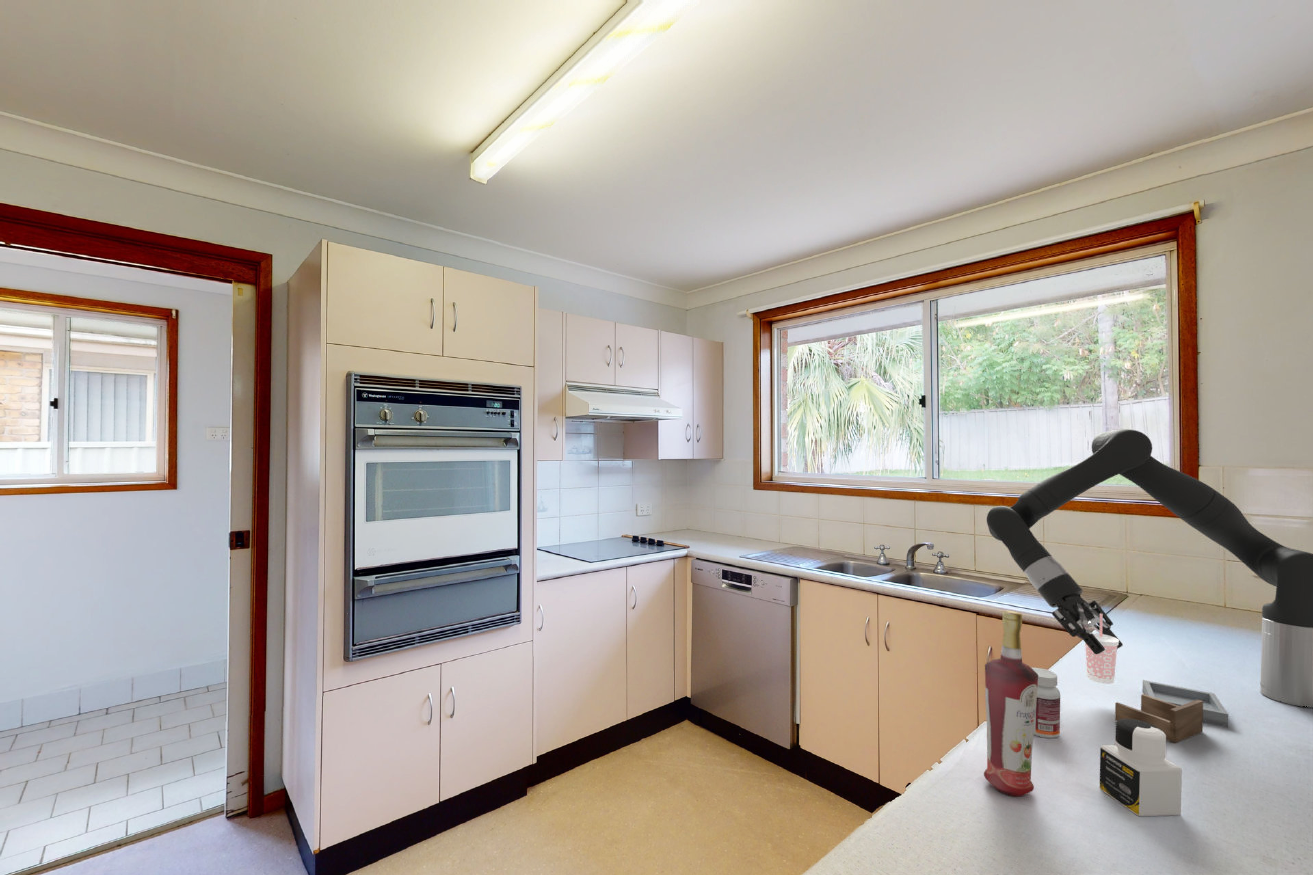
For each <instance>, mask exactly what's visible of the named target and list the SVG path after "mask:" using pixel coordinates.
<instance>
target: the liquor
mask: <svg viewBox="0 0 1313 875" xmlns="http://www.w3.org/2000/svg"><path fill="white" fill-rule="evenodd" d="M1022 626H1023V614H1022V613H1021V612H1018V611H1016V610H1003V611H1002V627H1003V636H1002V643H1001V644H1002V645H1001V651H1000V658H995V659H992V660H989V661H988V662H986V663H985V664H984V686H985V687H984V688H985V692H984V693H985V712H986V744H987V745H986V749H987V750H986V751H987V752H986V755H987V756H986V757H987V759H986V766H987V767H986V769H985V770H984V772H983V776H984V777H985V778H984V779H986V780H987V782H988V783H989V784H990V785H991V786H992V787H993V788H994V789H995V790H996V791H998V793H999V792H1000V793H1001V794H1003V795H1007V796H1009V797H1015V798H1020V797H1023V796H1025V795H1028V794H1030V793H1032V792H1033V791H1034V789H1035V786H1034V783H1033V782H1032V761H1033V760H1032V759H1033V748H1034V746H1033V744H1034V734H1033V733H1034V723H1035V713H1036V700H1037V685H1038V674H1037V673H1036V672H1035V671H1034V670H1033V669H1032V668H1033V667H1031V666H1029V665H1027V664H1026V663H1024V662H1023V656H1022V643H1021V642H1022V641H1021V630H1022Z"/></svg>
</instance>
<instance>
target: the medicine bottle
mask: <svg viewBox="0 0 1313 875" xmlns="http://www.w3.org/2000/svg"><path fill="white" fill-rule="evenodd" d="M1114 735H1115V736H1114V737H1115V740H1114V741H1115V742H1114V745H1113V744H1112V745H1111V744H1109V745H1105V744H1104V745H1100V748H1099V751H1100V752H1099V753H1100V755H1099V790H1100V791H1102V792H1103V793H1104V794H1105V795H1108V796H1109V797H1110V798H1111V799H1113V800H1115V801H1116V802H1117V803H1118V804H1120V805H1121V806H1123V807H1124V808H1126V809H1127V810H1128V811H1130V812H1131V813H1133V814H1134V815H1136V816H1137V817H1157V816H1158V817H1160V816H1161V817H1162V816H1163V817H1164V816H1180V815H1181V814H1182V786H1183V785H1182V784H1183V783H1182V778H1183V777H1182V775H1183V770H1182V768H1181V767H1180V766H1179V765H1176V764H1175V763H1173V762H1171V761H1170V760H1168V759H1166V756H1167V755H1166V754H1167V753H1166V752H1167V745H1166V744H1167V740H1166V735H1165V733H1164V732H1163V731H1162V730H1161V729H1159V728H1158V727H1156V726H1154V725H1152V724H1150V723H1147V722H1144V721H1141V720H1136V719H1121V720H1118V721H1115V734H1114Z"/></svg>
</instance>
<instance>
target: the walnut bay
mask: <svg viewBox="0 0 1313 875" xmlns="http://www.w3.org/2000/svg"><path fill="white" fill-rule="evenodd" d="M1140 702H1141V703H1140V709H1137V708H1135V707H1132V706H1129V705H1126V704H1124V703H1121V702H1118V701H1117V702H1115V703H1114V704H1115V708H1114V710H1115V712H1114V720H1115V722H1117V721H1118V720H1121V719H1136V720H1141V721H1144V722H1147V723H1150V724H1152V725H1154V726H1156V727H1158V728H1159V729H1161V730H1162V731H1163V732H1164V733H1165V735H1166V741H1168V742H1171V743H1173V744H1176V743H1180V742H1181V741H1184V740H1187V739H1189V738H1192V737H1194V736H1197V735H1198V734H1201V733H1203V725H1204V724H1203V723H1204V722H1203V701H1201V700H1195V701H1192V702H1190V703H1187V704H1184V705H1181V706H1177V705H1174V704H1171V703H1168V702H1165V701H1163V700H1160V699H1157V698H1154V697H1151V696H1148V695H1145V694H1143V693H1142V694H1141V695H1140Z"/></svg>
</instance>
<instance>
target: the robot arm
mask: <svg viewBox="0 0 1313 875" xmlns="http://www.w3.org/2000/svg"><path fill="white" fill-rule="evenodd" d="M1091 452H1092V455H1090V456H1089V457H1086V458H1085V459H1083V460H1082V461H1080V462H1078V463H1077V464H1075V465H1073V466H1071V467H1069V468H1066V469H1064V470H1063V471H1060V472H1058V473H1056V474H1053V475H1051V476H1049V477H1047V478H1045V479H1044V480H1042V481H1040V482H1038V483H1037V484H1036V485H1034V486H1032V487H1031V488H1029V489H1028V490H1026V491H1025V492H1023V493H1022V494H1021V495H1020V496H1019V497H1018V499H1017V501H1016V502H1015V503H1014V504H1013V505H1011V506H1010V507H1009V506H1006V505H1005V506H1004V505H998V506H994V507H992V508H991V509H990V510H989V511H988V513H987V514H986V524H987V527H988V531H989V533H990V534H991V536H992V537H993V538H994V539H996V540H997V541H1001V542H1002V544H1004V546H1005V547H1006V548H1007V550H1008V551H1009V554H1010V556H1011V557H1012V559H1013V560H1014V562H1015V563H1016V565H1017V566H1018V567H1019V568H1020V570H1022V572H1023V573H1024V574H1025V575H1026V577H1027V579H1028V581H1029V582H1030V584H1031V585H1032V586H1033V587H1034V588H1035V590H1036V591H1037V593H1039V594H1040V596H1041V597H1042V598H1043V600H1044V601H1045V602H1046V603H1047V604H1048V605H1049V607H1051V608H1057V609H1055V610H1054V611H1052V612H1051V615H1052V616H1053V617H1054V618H1055V619H1056V621H1057V622H1058V623H1059V624H1060V625H1061V626H1062V627H1063V628H1064V629H1065V630H1066V632H1067V633H1068V634H1069V635H1070V636H1071V637H1073V638H1075V637H1077V638H1078V639H1082V641H1083V642H1084V644H1085V643H1086V644H1087V645H1088V646H1089V648H1090V649H1091V650H1092V651H1093V652H1094V654H1100V653H1101V652H1103V651H1104V650H1105V648H1104V647H1103V646H1102V644H1101V643H1100V642H1099V641H1098V640H1097V638H1096V637H1095V636H1094V635H1093V634H1092V633H1093V632H1091V630H1090V628H1093V629H1094V630H1095V631H1096V633H1099V634H1100V614H1103V620H1102V634H1105V635H1109V636H1112V637H1115V638H1117V639H1118V640H1119V645H1117V650H1118V649H1120V648H1122V647H1123V646H1124V645H1123V642H1122V641H1121V640H1120V639H1119V638H1118V637H1117V635H1116V634H1115V633H1114V632H1113V631H1112V630H1111V629H1112V627H1111V626H1113V625H1114V623H1113V621H1112V620H1111V619H1110V617H1109V616H1108V615H1107V613H1106V612H1105V610H1104V609H1103V608H1102V607H1101V606H1100V605H1099V603H1098V602H1097V601H1096V600H1092V601H1090V602H1087V601H1086V600H1085V599H1084V598H1082V596H1081V594H1082V593H1083V588H1082V587H1081V586H1080V585H1079V584H1078V583H1077V581H1075V579H1074V578H1073V577H1072V576H1071V575H1070V574H1069V572H1068V571H1067V570H1066V569H1065V567H1064V566H1063V565H1061V563H1060V562H1058V561H1057V560H1056V558H1054V557H1053V555H1052V554H1051V553H1050V552H1049V550H1047V549H1046V547H1044V546H1043V545H1042V543H1041V542H1040V541H1038V539H1037V538H1036V537H1035V535H1034V534H1033V532H1032V530H1031V528H1032V527H1033V526H1035V524H1037V523H1038V522H1039V521H1040V520H1041V519H1043V518H1045V517H1047V516H1048V515H1050V514H1051V513H1054V511H1056V510H1058V509H1059V508H1061V507H1062V506H1064V505H1065V504H1068V503H1069V502H1070V501H1072V500H1073V499H1076V497H1078V496H1080V495H1082V494H1083V493H1085V492H1086V491H1088V490H1090V489H1092V488H1093V487H1095V486H1097V485H1099V484H1101V483H1103V482H1104V481H1107V480H1109V479H1111V478H1113V477H1115V476H1118V475H1120V476H1121V477H1123V478H1125V479H1127V480H1128V481H1130V482H1131V483H1134V484H1135V485H1136V486H1138V488H1140V489H1142V490H1143V491H1144V492H1145V493H1146V494H1148V495H1149V496H1150V497H1151V498H1152V499H1154V500H1156V501H1157V502H1158V503H1159V504H1161V506H1164V507H1165V508H1166V509H1168V511H1170V512H1172V514H1174V515H1175V516H1176V517H1178V518H1179V519H1180V520H1182V521H1183V522H1185V523H1186V524H1187V525H1189V526H1191V527H1192V528H1193V529H1195V530H1196V531H1198V532H1199V533H1201V534H1202V535H1204V536H1205V537H1207V538H1208V539H1210V540H1212V541H1213V542H1214V543H1216V544H1218V545H1219V546H1221V547H1223V548H1224V549H1225V550H1227V551H1228V552H1230V554H1232V555H1234V556H1235V557H1236V558H1237V559H1238V560H1239V561H1241V562H1242V563H1243V564H1244V565H1245V566H1246V567H1247V568H1248V569H1249V570H1250V571H1251V572H1253V573H1254V574H1255V575H1256V576H1257V577H1259V578H1260V579H1261V580H1262V581H1264V582H1265V583H1267V584H1269V585H1272V586H1273V587H1276V588H1275V596H1274V597H1275V598H1274V600H1273V601H1271V602H1267V603H1265V604H1263V606H1262V609H1261V647H1260V648H1261V649H1260V650H1261V652H1260V682H1259V684H1260V687H1259V688H1260V690H1259V691H1260V693H1261V694H1262V695H1263V696H1265V697H1266V698H1269V699H1272V700H1275V701H1278V702H1280V701H1281V703H1284V704H1289V705H1293V706H1297V707H1298V706H1299V707H1303V706H1305V707H1304V708H1313V553H1311V552H1309V551H1308V552H1307V551H1303V550H1300V549H1299V550H1298V549H1295V548H1292V547H1291V548H1290V547H1287V546H1285V545H1282V544H1280V543H1279V542H1277V541H1275V540H1274V539H1272V538H1270V537H1268V536H1267V535H1265V534H1264V533H1262V532H1260V531H1259V530H1257V528H1255V527H1254V526H1253V525H1252V524H1251V523H1250V521H1248V520H1247V518H1246V516H1245V515H1244V514H1243V513H1242V511H1241V510H1240V509H1239V507H1238V506H1236V504H1235V503H1233V502H1232V501H1231V500H1230V499H1228V498H1227V497H1226V496H1224V495H1223V494H1221V493H1220V492H1219V491H1217V490H1216V489H1214V488H1213V487H1211V486H1210V485H1208V484H1207V483H1205V482H1203V481H1201V480H1199V479H1197V478H1195V477H1192V476H1190V475H1188V474H1186V473H1184V472H1182V471H1179V470H1177V469H1174V468H1172V467H1170V466H1168V465H1166V464H1164V463H1162V462H1161V461H1159V460H1157V459H1156V458H1155V457H1153V456H1152V453H1153V444H1152V441H1151V439H1150V437H1149V436H1147V434H1145V433H1143V432H1141V431H1140V430H1139V431H1138V430H1136V429H1129V428H1127V429H1126V428H1125V429H1122V428H1121V429H1113V430H1107V431H1104V432H1101V433H1099V434H1097V435H1096V436H1095V437H1094V438H1093V440H1092V442H1091ZM1090 633H1091V634H1090ZM1306 706H1307V707H1306Z"/></svg>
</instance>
